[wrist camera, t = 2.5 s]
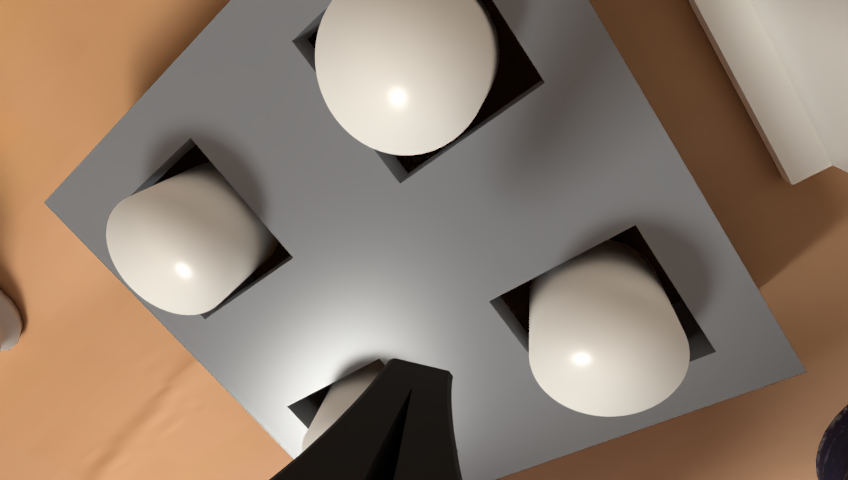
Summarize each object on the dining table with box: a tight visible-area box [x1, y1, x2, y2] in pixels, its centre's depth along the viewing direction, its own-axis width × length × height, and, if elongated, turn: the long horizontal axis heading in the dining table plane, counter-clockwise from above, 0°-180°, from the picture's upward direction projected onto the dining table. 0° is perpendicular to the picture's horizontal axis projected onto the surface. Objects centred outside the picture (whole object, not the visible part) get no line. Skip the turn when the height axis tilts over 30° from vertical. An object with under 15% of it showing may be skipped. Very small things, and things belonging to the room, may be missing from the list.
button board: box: [44, 0, 806, 480], centre depth 17 cm, size 17×17×4 cm
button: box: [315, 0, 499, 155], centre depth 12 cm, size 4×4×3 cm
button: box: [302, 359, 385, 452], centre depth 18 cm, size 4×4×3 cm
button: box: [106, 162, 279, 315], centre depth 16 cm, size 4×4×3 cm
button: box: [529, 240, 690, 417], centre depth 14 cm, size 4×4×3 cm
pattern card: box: [688, 0, 848, 185], centre depth 11 cm, size 10×3×5 cm, turn 37°
